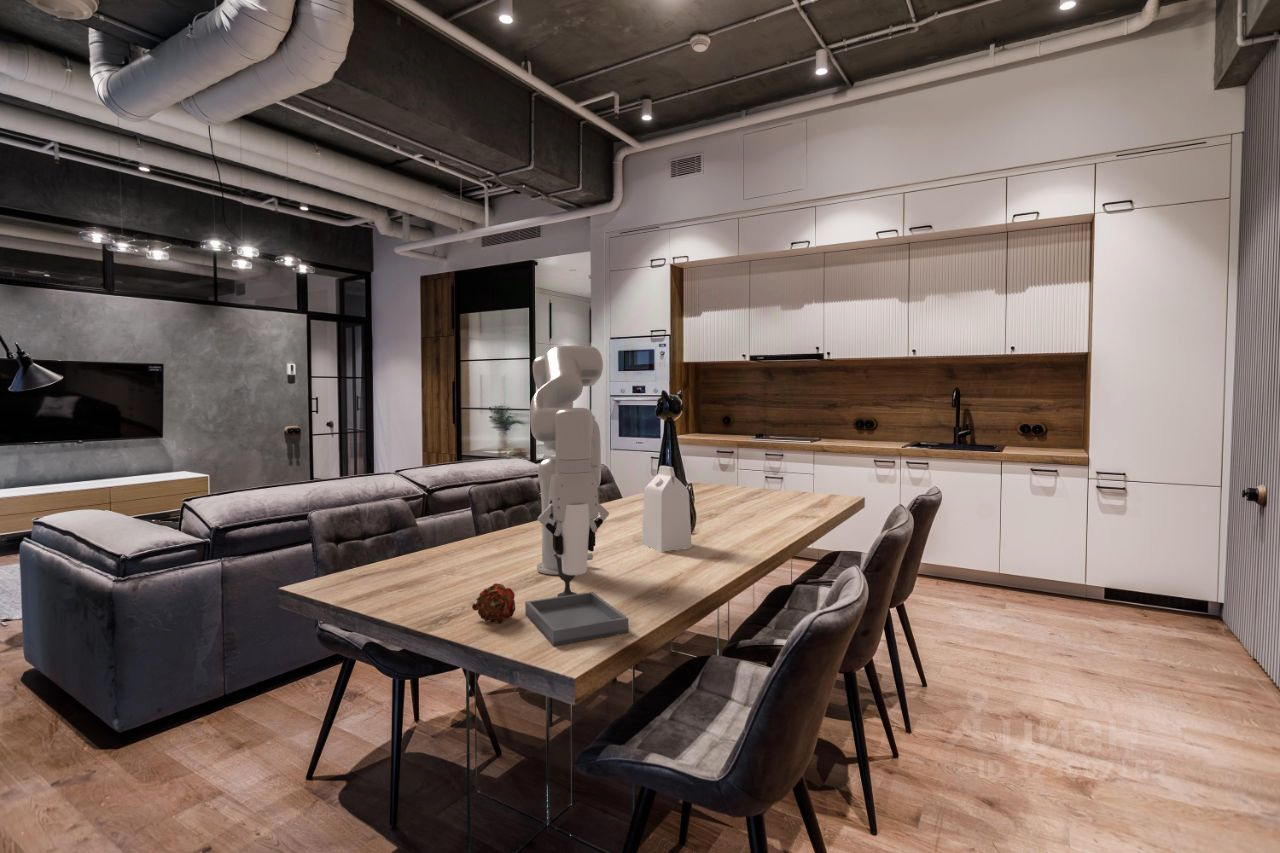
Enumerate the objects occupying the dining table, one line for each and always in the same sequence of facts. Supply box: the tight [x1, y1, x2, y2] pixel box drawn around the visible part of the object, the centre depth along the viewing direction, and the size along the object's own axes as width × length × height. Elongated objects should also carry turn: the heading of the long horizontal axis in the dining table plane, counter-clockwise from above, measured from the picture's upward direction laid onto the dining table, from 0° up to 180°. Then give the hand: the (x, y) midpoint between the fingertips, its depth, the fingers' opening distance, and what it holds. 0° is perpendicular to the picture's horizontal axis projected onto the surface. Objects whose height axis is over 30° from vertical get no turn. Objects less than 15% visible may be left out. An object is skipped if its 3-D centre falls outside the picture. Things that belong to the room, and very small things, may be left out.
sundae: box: [553, 554, 578, 597], centre depth 155 cm, size 7×7×15 cm
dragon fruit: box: [471, 582, 516, 624], centre depth 139 cm, size 8×8×12 cm
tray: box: [524, 591, 630, 647], centre depth 136 cm, size 16×20×3 cm
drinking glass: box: [561, 503, 590, 576], centre depth 135 cm, size 7×7×15 cm
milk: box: [641, 465, 693, 553], centre depth 207 cm, size 12×12×26 cm
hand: (574, 551), depth 136 cm, fingers closed on drinking glass, 6 cm apart
